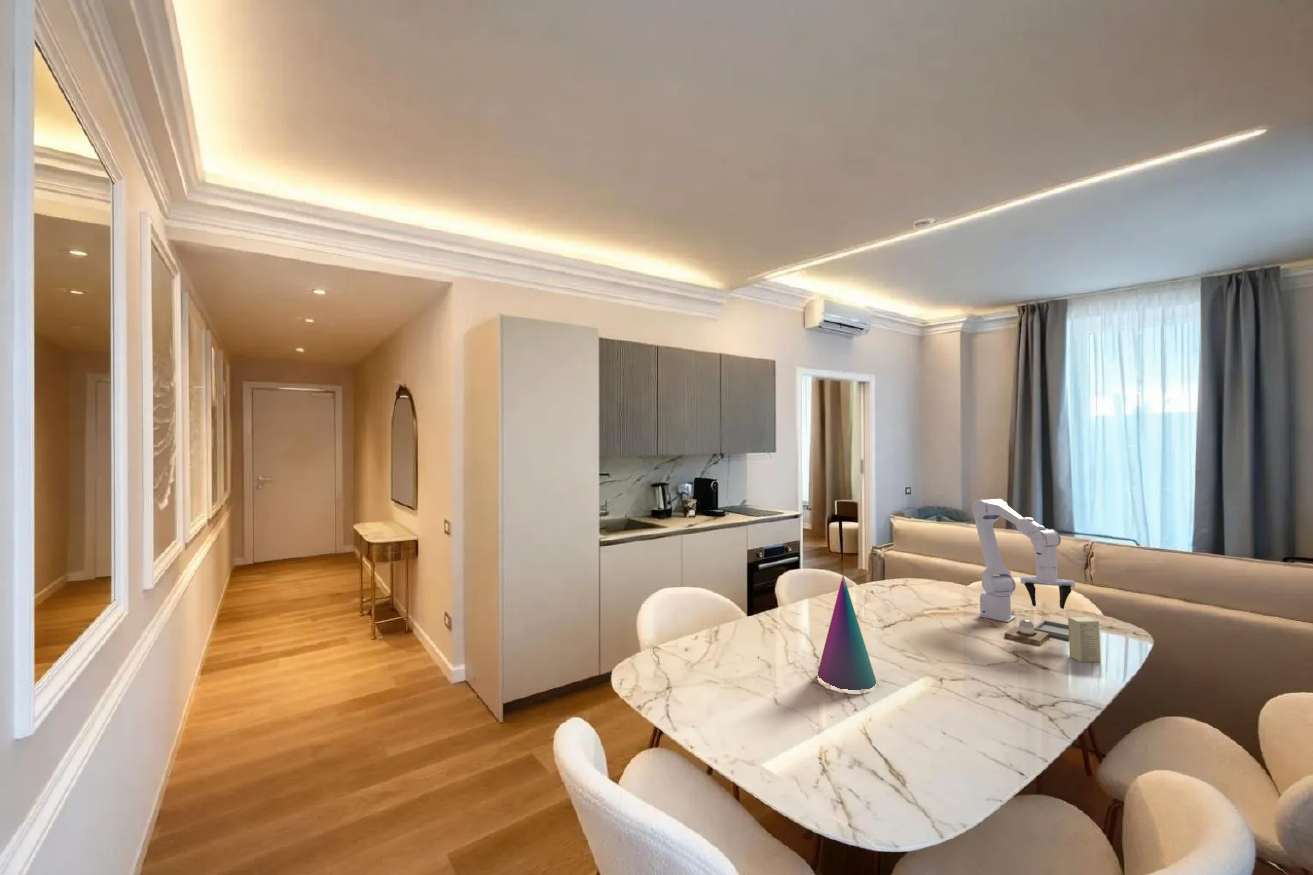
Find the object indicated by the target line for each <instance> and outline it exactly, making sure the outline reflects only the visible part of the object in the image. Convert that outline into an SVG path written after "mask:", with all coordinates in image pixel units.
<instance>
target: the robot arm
mask: <svg viewBox="0 0 1313 875" xmlns="http://www.w3.org/2000/svg"><path fill="white" fill-rule="evenodd" d="M971 510H972V514H973V518H974V522H975V526H976V530H977V535H978V539H979V543H980V546H981V550H982V554H983V555H982V556H983V559H984V563H985V569H984V570H983V571H982V572H981V587H982V589H983V591H981V593H980V595H979V613H980V614H979V617H982V618H986V619H989V620H990V619H992V620H996V621H1000V622H1005V623H1010V622H1011V621H1012V620H1014V619H1015V618H1016V616H1015V615H1012V609H1011V608H1012V601H1011V598H1012V597H1011V596H1012V595H1013V592H1014V591H1015V590H1016V588H1017V585H1016V580H1015V579H1014V578H1013V576H1012V574H1011V573H1012V572H1011V571H1010V570H1009V569H1007V568H1006V567H1004V565H1003V561H1002V557H1001V556H1002V555H1001V554H1000V553H1001V552H1000V549H999V546H998V542H997V537H996V534H995V530H994V526H993V525H994V523H995V522H996V521H998V520H999V519H1000V518H1003V519H1006V520H1007V521H1009V522H1010V523H1011V524H1014V525H1015V529H1016V530H1017V531H1018V532H1020V533H1021V534H1023V535H1024V536H1025V537H1027V538H1029V539H1030V542H1031V545H1032V547H1033V551H1034V552H1035V572H1036V573H1035V574H1036V576H1020V584H1022V585H1023V584H1024V586H1025V588H1026V591H1027V592H1028V595H1029V597H1030V601H1031V606H1032V607H1036V606H1037V603H1036V602H1037V601H1036V600H1037V599H1036V587H1035V585H1042V586H1057V587H1058V591H1059V593H1058V594H1059V607H1060V609H1062V610H1064V609H1065V605H1066V602H1067V599H1068V597H1069V596H1070V594H1071V592H1072V588H1075V586H1076V585H1075V581H1074V580H1073V579H1072V580H1070V579H1063V578H1058V556H1057V554H1058V552H1057V547H1058V546H1060V545H1061V542H1062V539H1061V536H1060V533H1059V532H1057V530H1055V529H1053V528H1050V529H1049V528H1045V526H1044V525H1042V524H1040V523H1038V522H1036V521H1035V519H1034V518H1033V517H1028V516H1025V517H1023V516H1022V515H1020V514H1019V513H1017V512H1016V511H1015V510H1014V509H1012V507H1010V506H1009V505H1008V502H1007V501H1004V500H1003V499H1002V498H996V499H995V498H992V499H991V498H990V499H976V500H975V501H973V503H972V506H971Z"/></svg>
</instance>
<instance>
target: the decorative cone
mask: <svg viewBox="0 0 1313 875" xmlns="http://www.w3.org/2000/svg"><path fill="white" fill-rule="evenodd" d="M846 582H847V581H846V579H845V576H844V574H842V578H841V581H840V584H839V588H838V592H837V596H836V600H835V604H834V607H833V612H832V616H831V620H830V622H829V623H830V624H829V627H828V631H827V636H826V638H825V639H826V640H825V642H824V643H825V644H824V647H823V649H822V650H823V652H822V654H821V658H820V663H819V667H818V669H817V673H818V676H819V678H821V679H822V680H823V681H824V682H826V683H829V684H830V685H832V686H835V687H837V688H840V689H848V690H861V689H870V688H872V687H873V686H875V684H876V682H877V680H876V676H875V673H874V669H873V666H872V663H871V660H870V657H869V654H868V650H867V648H866V644H865V641H864V637H863V634H862V630H861V628H860V624H859V621H858V618H857V615H856V611H855V608H854V604H853V601H852V599H851V595H850V592H849V589H848V585H847V583H846Z"/></svg>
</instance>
